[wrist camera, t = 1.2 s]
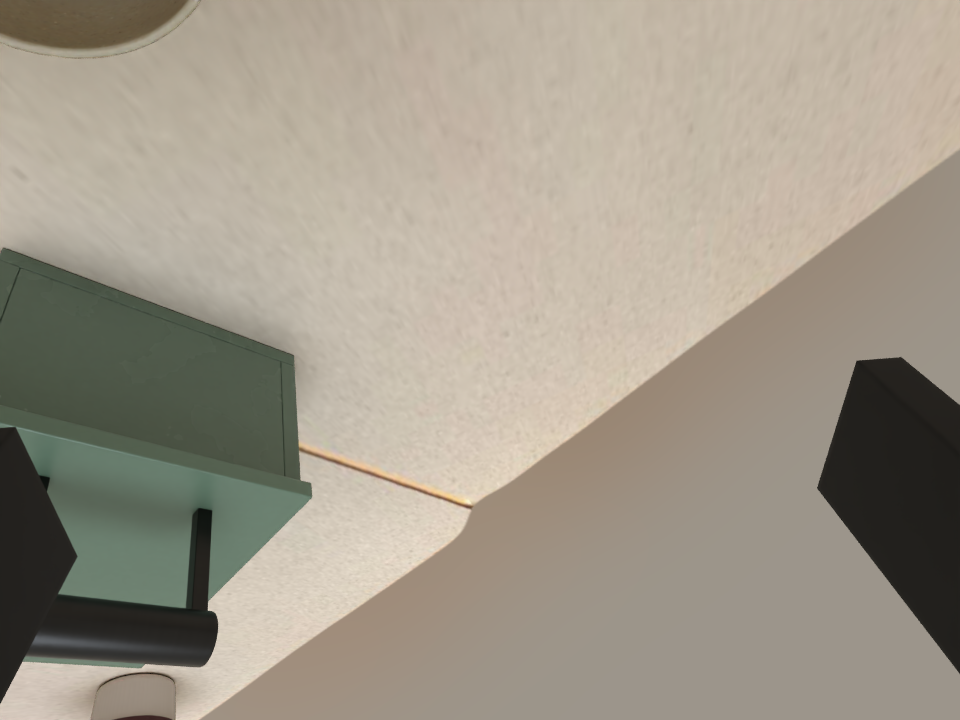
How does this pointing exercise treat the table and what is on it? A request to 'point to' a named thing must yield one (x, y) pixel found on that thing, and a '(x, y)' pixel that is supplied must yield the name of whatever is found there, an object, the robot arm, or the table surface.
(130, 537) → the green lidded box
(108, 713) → the coffee cup
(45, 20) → the flower pot
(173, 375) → the green storage box
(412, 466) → the table surface
